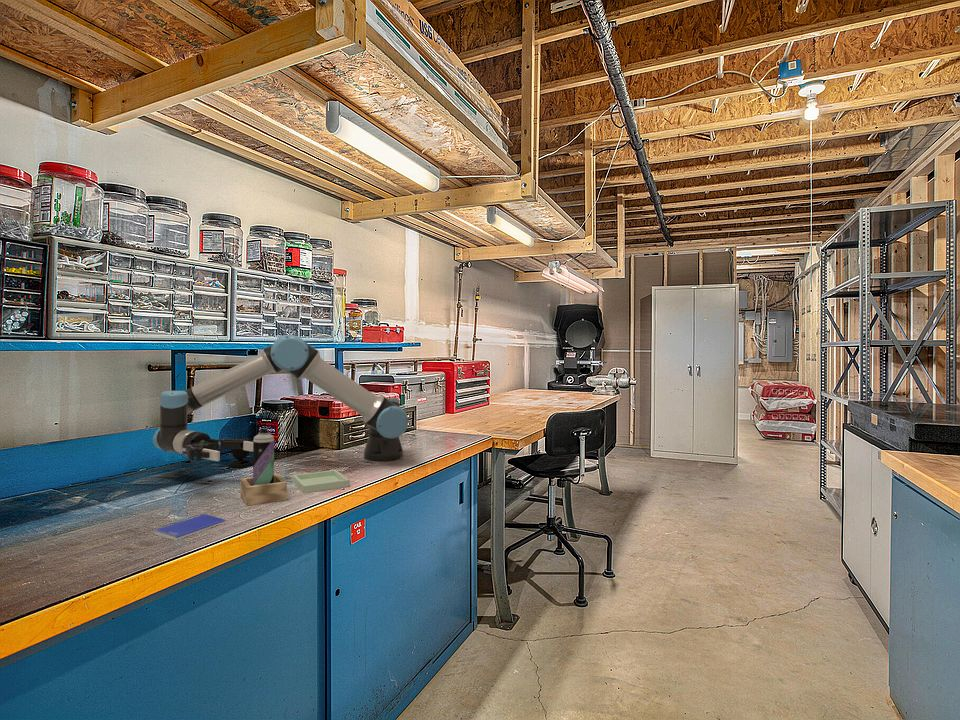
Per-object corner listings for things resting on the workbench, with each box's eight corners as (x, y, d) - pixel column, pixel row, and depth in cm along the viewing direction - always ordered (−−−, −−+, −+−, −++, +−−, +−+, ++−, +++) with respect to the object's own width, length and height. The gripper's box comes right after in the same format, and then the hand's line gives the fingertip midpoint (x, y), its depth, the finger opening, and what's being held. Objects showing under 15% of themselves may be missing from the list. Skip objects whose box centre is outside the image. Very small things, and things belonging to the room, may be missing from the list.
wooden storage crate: (278, 490, 152) (278, 474, 151) (286, 500, 143) (286, 482, 143) (240, 495, 146) (240, 478, 146) (246, 505, 137) (246, 487, 137)
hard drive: (176, 536, 113) (225, 519, 124) (153, 529, 117) (203, 513, 128) (176, 543, 113) (225, 525, 124) (153, 536, 117) (203, 519, 128)
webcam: (256, 464, 182) (257, 437, 181) (240, 469, 175) (240, 440, 174) (239, 462, 184) (240, 435, 184) (223, 467, 177) (223, 438, 177)
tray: (335, 476, 169) (335, 469, 169) (349, 486, 157) (349, 479, 157) (292, 481, 161) (292, 475, 161) (303, 493, 150) (303, 486, 150)
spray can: (249, 497, 144) (250, 427, 144) (269, 493, 148) (269, 426, 148) (257, 502, 141) (257, 430, 140) (276, 498, 144) (277, 428, 144)
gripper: (228, 448, 169) (273, 456, 160) (152, 463, 147) (199, 473, 137) (228, 426, 169) (274, 433, 159) (152, 437, 146) (199, 446, 137)
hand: (239, 452), depth 148 cm, fingers open, 13 cm apart
